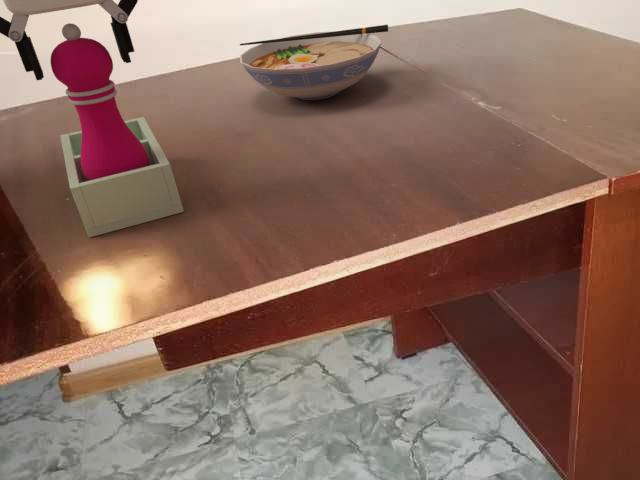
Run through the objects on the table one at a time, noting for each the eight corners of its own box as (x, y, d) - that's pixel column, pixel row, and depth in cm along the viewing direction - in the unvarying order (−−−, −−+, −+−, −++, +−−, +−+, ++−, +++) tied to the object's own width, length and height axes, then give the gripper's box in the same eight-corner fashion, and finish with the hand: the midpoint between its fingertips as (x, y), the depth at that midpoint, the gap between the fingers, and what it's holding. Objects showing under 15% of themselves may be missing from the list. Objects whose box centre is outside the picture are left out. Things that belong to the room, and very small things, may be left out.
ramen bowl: (229, 124, 106) (216, 70, 102) (254, 80, 125) (244, 34, 121) (393, 109, 106) (387, 54, 101) (392, 67, 125) (388, 20, 121)
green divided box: (88, 238, 77) (69, 188, 74) (76, 178, 93) (60, 135, 90) (184, 211, 81) (169, 163, 78) (156, 158, 96) (143, 116, 93)
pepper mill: (172, 189, 84) (120, 15, 73) (127, 216, 78) (65, 33, 68) (127, 182, 87) (71, 15, 76) (81, 208, 81) (15, 31, 71)
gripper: (113, -128, 71) (161, 46, 80) (-81, -108, 65) (-5, 78, 74) (122, -129, 65) (172, 59, 74) (-90, -107, 59) (-7, 94, 68)
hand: (83, 67), depth 74 cm, fingers open, 8 cm apart
